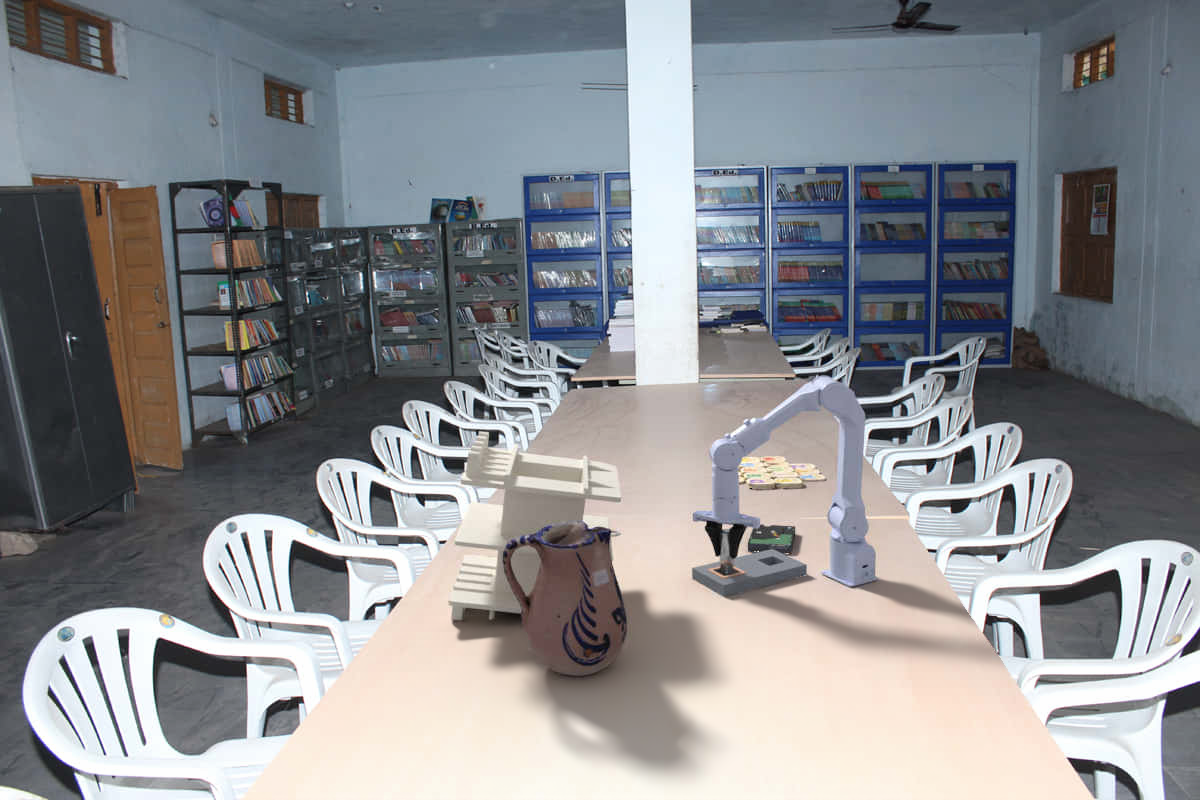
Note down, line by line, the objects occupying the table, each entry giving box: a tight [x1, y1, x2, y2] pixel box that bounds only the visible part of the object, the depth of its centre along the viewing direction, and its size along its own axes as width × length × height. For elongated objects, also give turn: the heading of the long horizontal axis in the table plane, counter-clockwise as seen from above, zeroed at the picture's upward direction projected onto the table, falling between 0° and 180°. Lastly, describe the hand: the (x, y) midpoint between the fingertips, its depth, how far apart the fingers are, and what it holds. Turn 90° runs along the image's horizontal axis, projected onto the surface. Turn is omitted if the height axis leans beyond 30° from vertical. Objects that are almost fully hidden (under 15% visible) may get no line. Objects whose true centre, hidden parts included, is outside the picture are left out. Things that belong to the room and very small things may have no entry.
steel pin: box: [719, 528, 734, 574], centre depth 196 cm, size 3×3×9 cm
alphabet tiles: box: [738, 455, 826, 490], centre depth 282 cm, size 33×33×2 cm
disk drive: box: [747, 523, 796, 555], centre depth 221 cm, size 10×3×15 cm
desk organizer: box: [448, 431, 622, 622], centre depth 189 cm, size 26×31×35 cm
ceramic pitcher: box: [502, 520, 628, 677], centre depth 159 cm, size 18×21×25 cm
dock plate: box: [691, 549, 808, 598], centre depth 199 cm, size 12×22×3 cm, turn 117°
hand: (726, 556), depth 196 cm, fingers closed on steel pin, 3 cm apart
